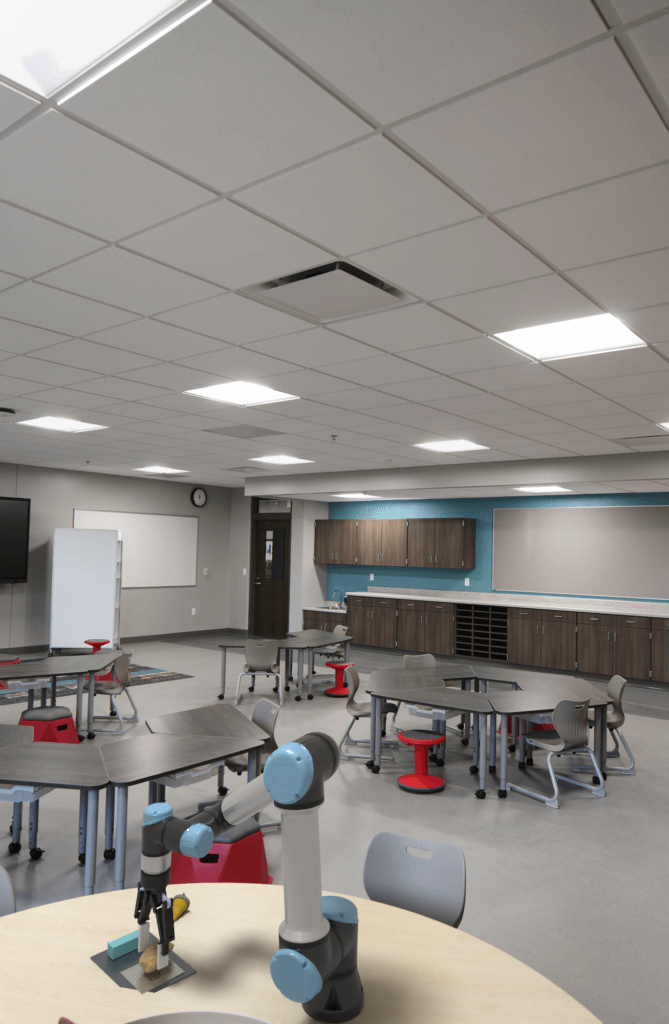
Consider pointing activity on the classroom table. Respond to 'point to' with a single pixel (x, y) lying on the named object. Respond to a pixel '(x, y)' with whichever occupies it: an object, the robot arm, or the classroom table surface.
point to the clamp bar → (123, 945)
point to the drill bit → (180, 905)
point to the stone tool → (151, 957)
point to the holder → (134, 977)
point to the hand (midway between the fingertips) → (152, 958)
